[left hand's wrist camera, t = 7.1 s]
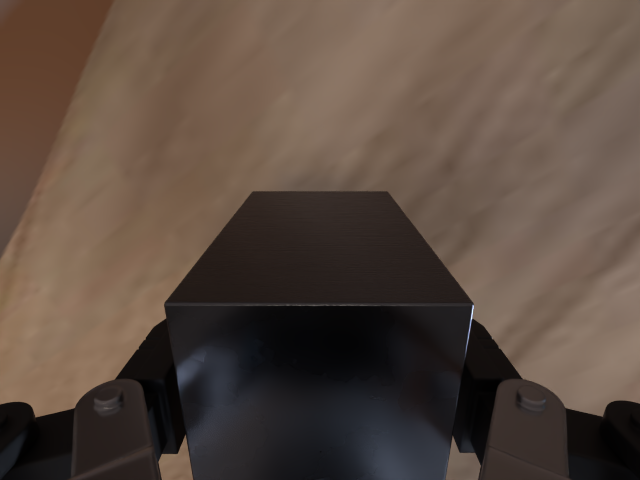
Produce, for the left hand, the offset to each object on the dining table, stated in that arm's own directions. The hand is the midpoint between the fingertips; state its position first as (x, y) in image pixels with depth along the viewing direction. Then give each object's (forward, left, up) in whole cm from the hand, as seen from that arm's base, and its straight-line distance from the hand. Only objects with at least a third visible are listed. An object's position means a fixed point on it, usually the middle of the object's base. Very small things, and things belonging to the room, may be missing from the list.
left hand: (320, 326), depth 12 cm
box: (-2, +7, -5) cm, 9 cm away
